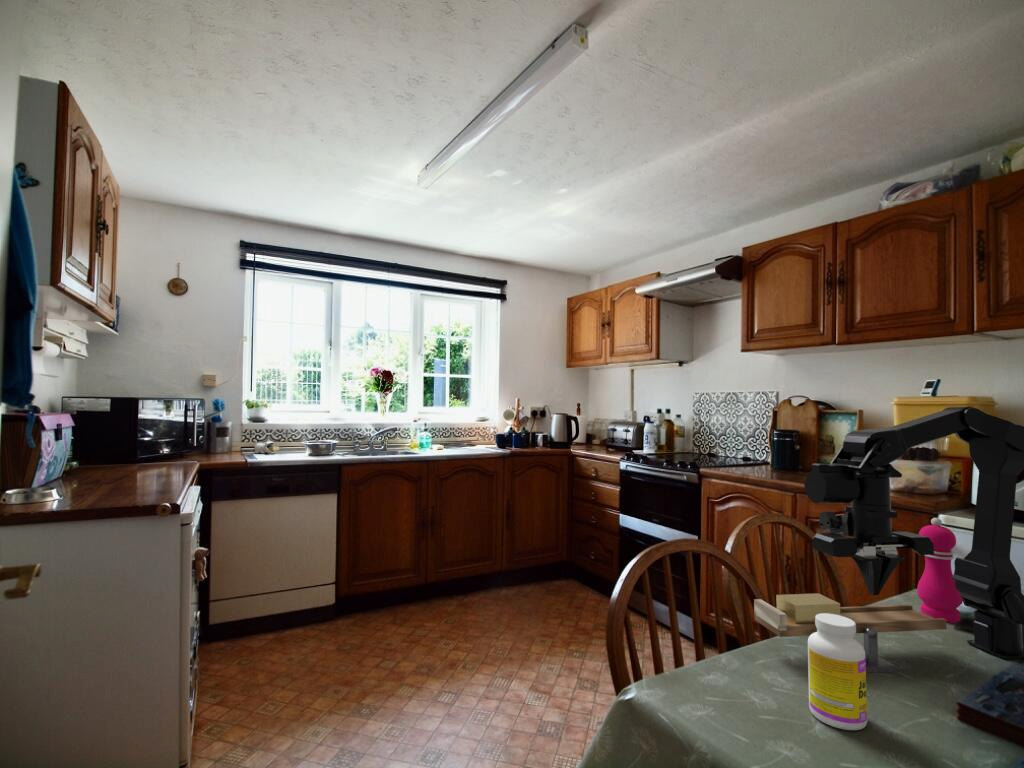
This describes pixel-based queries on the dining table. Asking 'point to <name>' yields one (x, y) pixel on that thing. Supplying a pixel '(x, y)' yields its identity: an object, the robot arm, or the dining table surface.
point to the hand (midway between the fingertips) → (873, 594)
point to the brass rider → (805, 607)
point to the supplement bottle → (837, 673)
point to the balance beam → (863, 616)
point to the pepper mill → (939, 575)
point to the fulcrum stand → (874, 653)
